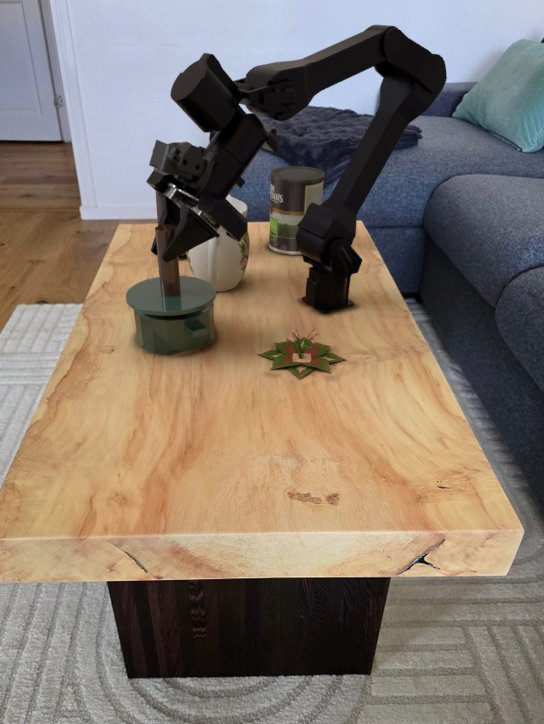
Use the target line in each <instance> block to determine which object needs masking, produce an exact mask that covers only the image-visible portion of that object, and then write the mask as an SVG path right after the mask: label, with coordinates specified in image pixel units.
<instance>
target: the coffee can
mask: <svg viewBox="0 0 544 724" xmlns="http://www.w3.org/2000/svg"><path fill="white" fill-rule="evenodd" d="M325 174H326V173H325V171H324V170H322V169H319V168H316V167H312V166H304V165H303V166H302V165H290V166H289V165H288V166H281V167H277V168H274V169H272V170H271V171H270V172H269V177H270V193H269V194H270V196H269V237H268V247H269V250H271V251H273V252H275V253H278V254H283V255H289V256H302V254H301V253H300V252H299V250H298V248H297V242H296V234H297V232H298V229H299V228H300V227H297V224H298V223H299V222H300V221H301V220H302V219H303V217H304V215H305V213H306V210H307V208H308V206H309V205H310V204H311V203H312V202H313V203H315V204H318V205H320V204H322V203H323V194H324V193H323V192H324V180H325Z"/></svg>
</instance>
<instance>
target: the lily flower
mask: <svg viewBox="0 0 544 724" xmlns="http://www.w3.org/2000/svg"><path fill="white" fill-rule="evenodd" d="M315 329H316V328H315V327H314V328H312V330H311V332H310V333H309V334H308V336H307V337H305V336H303V337H300V334H299V331H298V329H297V328H295V332H296V333H297V334H296V333H295V332H294V331H291V337H292V338H293V339H294V341H293V340H290V339H288V338H286V340H285V341H280V342H275V345H276V347H277V349H274V348H273V349H269V350H266V351H263V352H262V353H257V355H258V356H262V357H265V358H268V359H270V360H273V361H272V364H271V366H272V367H271V368H270V369H269V371H272V370H276V369H281V368H285V367H287V369H288V370H289V371H290V372H291V373H292V374H293V375H294V376H296V377H297V379H298V380H301V379H302V378H303V377H305V375H308V374H309V373H310V372H312V371H313V370H314V368H317V369H319V370H322V371H324V372H327V373H329V374H332V372H331V367H330V364H332V363H336V362H342V361H347V359H346V358H344V357H342V356H339V355H338V354H336V353H334V352H328V351H329V349H330V348H331V347H332V345H328V344H323V343H321V342H316V341H315V342H313V341H312V340H315V338H314V337H317V336H320V333H316V334H314V335H312V336H311V337H310V335H311V334H312V333H313V332H314V331H315ZM309 337H310V338H309ZM294 354H297V355H298V358H299V359H304V357H305V354H306V355H310V361H294V360H293V357H294ZM301 364H302V365H304V366H307V367H305V369H302V370H301V371H300V370H299V369H298V368H297V367H296V366H298V365H301Z"/></svg>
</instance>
